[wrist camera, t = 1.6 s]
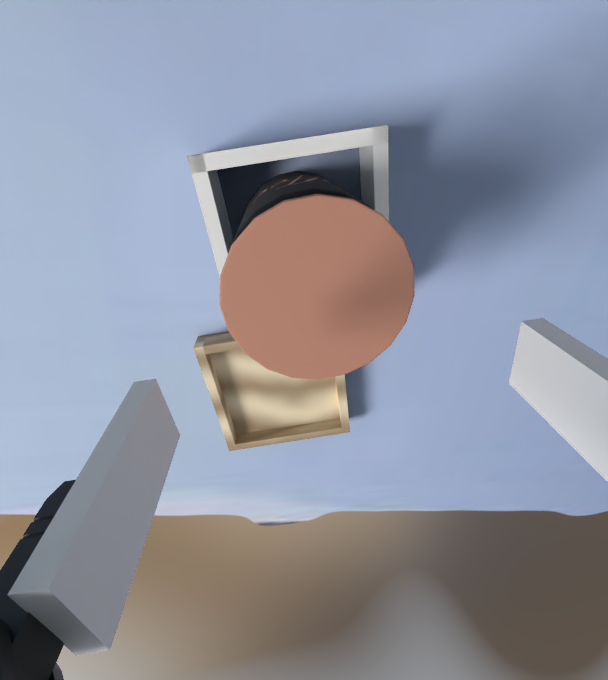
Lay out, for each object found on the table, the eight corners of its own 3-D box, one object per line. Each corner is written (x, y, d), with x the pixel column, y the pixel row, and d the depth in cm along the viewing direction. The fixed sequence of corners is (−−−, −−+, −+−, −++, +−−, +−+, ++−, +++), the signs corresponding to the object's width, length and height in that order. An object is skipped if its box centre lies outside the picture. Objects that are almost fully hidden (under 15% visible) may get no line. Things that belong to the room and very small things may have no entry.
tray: (197, 336, 39) (193, 347, 37) (336, 314, 39) (340, 324, 37) (231, 436, 47) (229, 451, 45) (346, 418, 47) (350, 432, 45)
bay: (199, 154, 30) (187, 156, 26) (371, 127, 30) (388, 124, 26) (239, 311, 38) (234, 332, 34) (376, 289, 38) (389, 308, 34)
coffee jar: (366, 190, 33) (452, 230, 17) (331, 291, 38) (371, 394, 22) (257, 153, 31) (240, 162, 15) (234, 266, 35) (203, 361, 20)
